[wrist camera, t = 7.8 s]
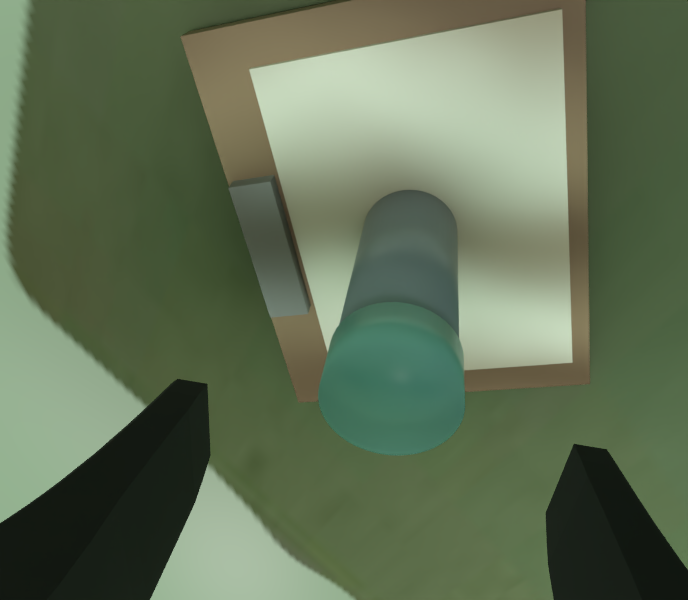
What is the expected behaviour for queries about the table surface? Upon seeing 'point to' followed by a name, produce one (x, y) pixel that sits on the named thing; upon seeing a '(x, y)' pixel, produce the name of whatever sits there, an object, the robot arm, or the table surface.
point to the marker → (399, 332)
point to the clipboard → (412, 165)
